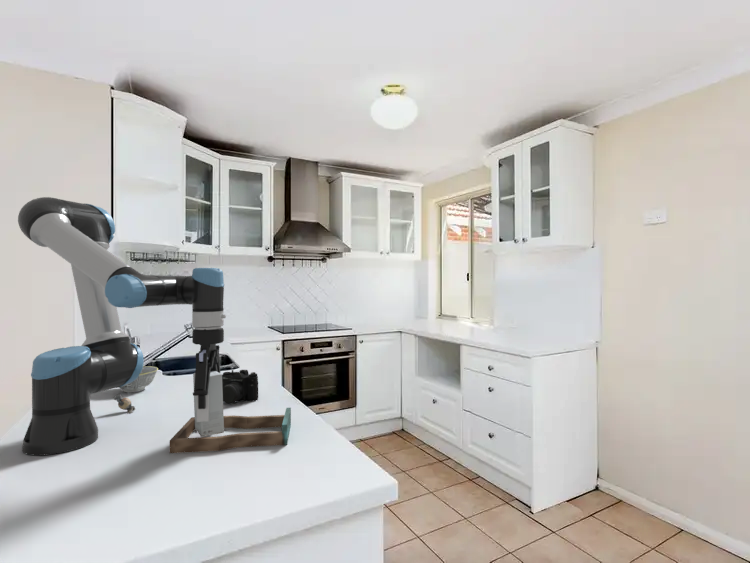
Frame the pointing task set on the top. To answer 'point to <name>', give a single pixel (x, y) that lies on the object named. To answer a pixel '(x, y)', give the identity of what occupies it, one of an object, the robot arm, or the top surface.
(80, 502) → the top surface
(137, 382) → the bowl
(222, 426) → the skincare box
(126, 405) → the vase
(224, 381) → the camera
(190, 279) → the robot arm
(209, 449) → the brown wooden frame
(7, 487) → the top surface
